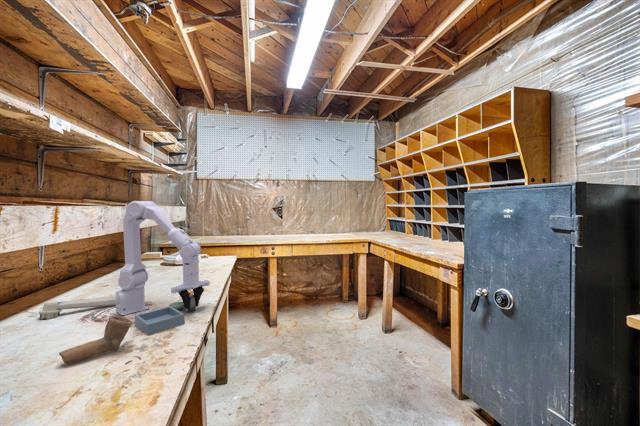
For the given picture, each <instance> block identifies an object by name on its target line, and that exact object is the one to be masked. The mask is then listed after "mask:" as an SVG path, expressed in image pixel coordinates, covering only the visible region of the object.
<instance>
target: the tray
mask: <svg viewBox="0 0 640 426" xmlns="http://www.w3.org/2000/svg"><path fill="white" fill-rule="evenodd" d="M185 324H186V323H185V313H183V311H182V312H180V311H178V310H176V309H174V308H173V307H171V306H169V305H168V306H165V307H162V308H158V309H155V310H151V311H147V312H143V313H139V314H134V326H135V327H136V328H137V329H139V330H140V331H142V332H143V333H144V334H145V335H147V336H150V335H153V334H157V333H160V332H163V331H166V330H170V329H173V328H176V327H178V326H179V327H180V326H182V325H185Z"/></svg>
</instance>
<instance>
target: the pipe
mask: <svg viewBox="0 0 640 426" xmlns="http://www.w3.org/2000/svg"><path fill="white" fill-rule="evenodd" d="M132 323H133V321H132V320H131V319H130V318H129V319H128V318H127V317H124V316H121V315H120V316H118V315H112V316H111V315H110V316H109V317H108V321H107V322H106V325H105V328H104V332H103V337H102V338H99V339H95V340H91V341H88V342H85V343H82V344H79V345H76V346H74V347H70V348H68V349H65V350H62V351H60V352H58V355H59V356H60V357H61V359H62V362H63V364H70V363H74V362H78V361H80V360H84V359H88V358H91V357H95V356H100V355H103V354H106V353H110V352H117V351H118V350H119V349H120V347H121V344H122V342H123V341H124V339H125V337H126V335H127V333H128V331H129V329H130V328H131V326H132Z"/></svg>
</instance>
